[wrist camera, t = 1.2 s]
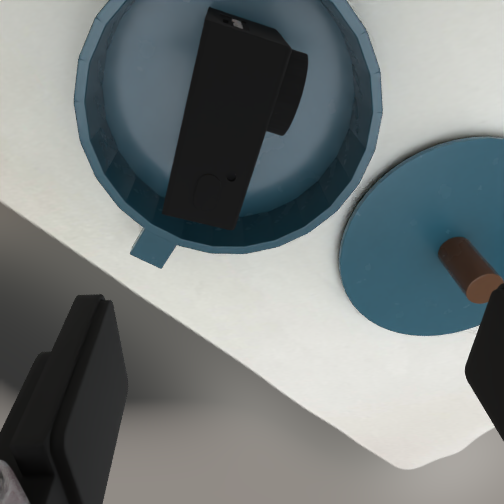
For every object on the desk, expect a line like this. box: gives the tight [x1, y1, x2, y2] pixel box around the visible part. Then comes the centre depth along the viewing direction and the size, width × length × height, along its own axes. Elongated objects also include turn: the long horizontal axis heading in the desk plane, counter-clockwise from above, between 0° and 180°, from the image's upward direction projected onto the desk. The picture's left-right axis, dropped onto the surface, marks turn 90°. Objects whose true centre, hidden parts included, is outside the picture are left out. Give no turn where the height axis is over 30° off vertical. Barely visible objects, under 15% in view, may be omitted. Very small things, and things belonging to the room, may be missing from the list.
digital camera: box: [162, 7, 308, 230], centre depth 26 cm, size 10×5×7 cm, turn 163°
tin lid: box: [339, 136, 504, 336], centre depth 34 cm, size 18×18×6 cm
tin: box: [74, 0, 383, 268], centre depth 28 cm, size 17×23×5 cm
